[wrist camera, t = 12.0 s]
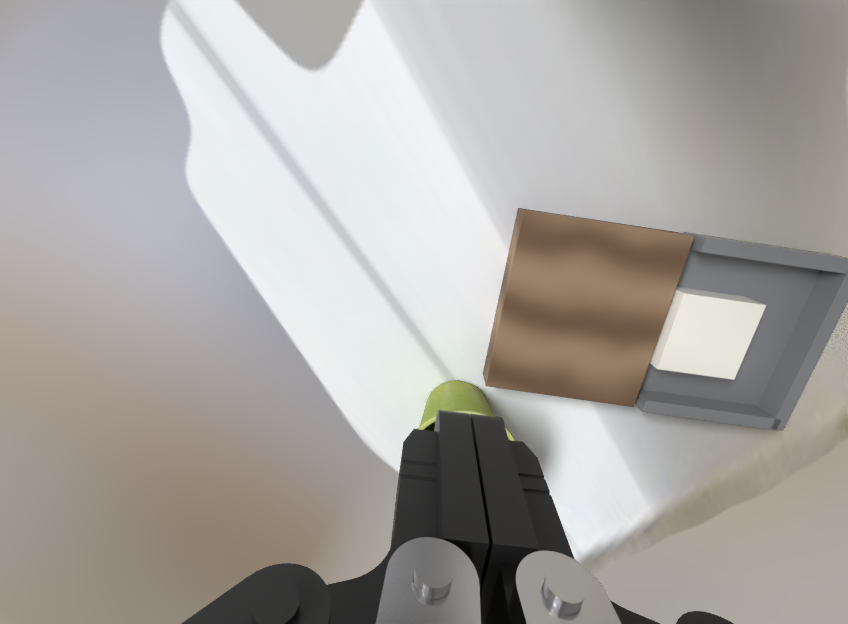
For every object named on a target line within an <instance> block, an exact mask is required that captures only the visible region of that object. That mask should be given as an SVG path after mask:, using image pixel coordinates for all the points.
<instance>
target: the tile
mask: <svg viewBox="0 0 848 624" xmlns="http://www.w3.org/2000/svg"><path fill="white" fill-rule="evenodd" d="M765 307H766V305H765V304H762V303H760V302H757V301H754V300H752V299H749V298H747V297H744V296H737V295H730V294H723V293H716V292H709V291H702V290H695V289H688V288H681V287H676V290H675V292H674V295H673V298H672V301H671V304H670V306H669V309H668V312H667V315H666V318H665V320H664V323H663V326H662V329H661V332H660V334H659V337H658V340H657V343H656V346H655V348H654V351H653V354H652V357H651V360H650V362H649V363H651V364H652V365H653V366H654V367H655V368H656V369H660V370H668V371H675V372H682V373H689V374H696V375H704V376H711V377H718V378H725V379H732V380H734V379H735V377H736V374H737V372H738V370H739V368H740V365H741V363H742V361H743V358H744V356H745V354H746V351H747V349H748V347H749V344H750V342H751V340H752V337H753V335H754V333H755V330H756V328H757V326H758V324H759V321H760V319H761V317H762V314H763V312H764V310H765Z"/></svg>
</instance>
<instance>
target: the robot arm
mask: <svg viewBox="0 0 848 624" xmlns="http://www.w3.org/2000/svg"><path fill="white" fill-rule="evenodd" d="M549 492H550V491H549V489H548V486H547V483H546V480H544V475H543V472H542V469H541V467H540V464H539V461H538V459H537V457H536V456H535V455H534V454H533V453H532V452H531V450H530V449H529V448H528V447H527V446H526V445H525V444H524V443H523V442H519V441H511V440H508V436H507V433H506V429H505V425H504V422H503V419H502V418H501V417H494V416H486V415H478V414H470V415H469V414H468V413H461V412H452V411H444V410H438V412H437V416H436V422H435V428H434V431H427V430H419V429H414V430H413V431H412V432H411V433H410V435H409V436H408V437H407V438H406V440H405V441H404V442H403V450H402V457H401V465H400V472H399V480H398V488H397V495H396V503H395V513H394V521H393V531H392V540H391V548H390V551H389V552H388V554H387V556H386V557H385V559H384V560H383V561H382V562H381V564H379V565H378V566H377V567H376V568H375V569H373V570H372V571H370V572H369V573H367V574H365V575H363V576H360V577H358V578H354V579H351V580H347V581H342V582H338V583H333V584H329V585H326V584H325V583H324V581H323V580H322V579H321V577H320V576H319V575H318V574H316V572H314V571H313V570H311V569H309V568H307V567H305V566H301V565H298V564H277V565H272V566H269V567H266V568H263V569H261V570H259V571H257V572H255V573H253V574H252V575H250V576H248V577H247V578H246V579H244V580H243V581H241V582H240V583H239V584H237V585H236V586H234V587H233V588H231V589H230V590H229V591H227V592H226V593H224V594H223V595H221V596H220V597H219V598H217V599H216V600H215V601H213V602H212V603H210V604H209V605H207V606H206V607H204V608H203V609H202V610H200V611H199V612H197V613H196V614H195V615H193V616H192V617H190V618H189V619H188V620H186V621H185V622H183V623H182V624H660V623H657V622H655V621H652V620H650V619H648V618H645V617H643V616H641V615H638V614H636V613H633V612H631V611H629V610H626V609H625V608H623V607H621V606H619V605H617V604H615V603H614V602H612V601H610V599H609V597H608V595H607V593H606V591H605V590H604V588H603V586H602V585H601V583H600V582H599V581H598V579H597V578H596V577H595V576H594V575H593V574H592V573H591V572H590V571H589V570H588V569H587V568H586V567H585V566H583V565H582V564H581V563H579V562H578V561H576V560H575V559H574V557H573V554H572V551H571V549H570V546H569V543H568V540H567V538H566V535H565V532H564V530H563V527H562V524H561V521H560V519H559V516H558V513H557V510H556V508H555V505H554V502H553V500H552V497H551V495H549ZM676 624H733V623H732V622H730V621H728V620H726V619H724V618H722V617H719V616H717V615H714V614H711V613H707V612H700V611H693V612H688V613H686V614H683V615H682V616H681V617H680V618H679V619H678V621H677V623H676Z"/></svg>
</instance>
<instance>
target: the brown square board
mask: <svg viewBox="0 0 848 624" xmlns="http://www.w3.org/2000/svg"><path fill="white" fill-rule="evenodd" d="M693 239H694V236H691V235H687V234H682V233H678V232H672V231H665V230H659V229H652V228H646V227H639V226H633V225H626V224H619V223H613V222H606V221H600V220H593V219H587V218H580V217H573V216H567V215H560V214H554V213H547V212H540V211H534V210H527V209H521V208H518V211H517V216H516V221H515V225H514V230H513V235H512V240H511V244H510V249H509V254H508V258H507V263H506V268H505V272H504V277H503V282H502V286H501V291H500V296H499V300H498V305H497V310H496V314H495V319H494V324H493V328H492V333H491V338H490V343H489V347H488V352H487V357H486V361H485V366H484V371H483V376H484V380H485V384H486V386H489V387H496V388H503V389H510V390H517V391H524V392H531V393H538V394H546V395H553V396H560V397H567V398H574V399H581V400H588V401H595V402H602V403H609V404H616V405H623V406H631V407H634V404H635V402H636V399H637V396H638V393H639V390H640V388H641V385H642V382H643V379H644V376H645V374H646V371H647V368H648V365H649V362H650V360H651V357H652V354H653V351H654V348H655V346H656V343H657V340H658V337H659V334H660V332H661V329H662V326H663V323H664V320H665V318H666V315H667V312H668V309H669V306H670V304H671V301H672V298H673V295H674V292H675V290H676V287H677V284H678V281H679V278H680V276H681V273H682V270H683V267H684V264H685V262H686V259H687V256H688V253H689V250H690V248H691V245H692V242H693Z"/></svg>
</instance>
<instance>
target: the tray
mask: <svg viewBox="0 0 848 624" xmlns="http://www.w3.org/2000/svg"><path fill="white" fill-rule="evenodd" d="M682 234H687V235H691V236H694V239H693V242H692V245H691V248H690V250H689V253H688V256H687V259H686V262H685V264H684V267H683V270H682V273H681V276H680V278H679V281H678V284H677V287H681V288H688V289H695V290H702V291H709V292H716V293H723V294H730V295H737V296H744V297H747V298H749V299H752V300H754V301H757V302H760V303H762V304H765V305H766V307H765V310H764V312H763V314H762V317H761V319H760V321H759V324H758V326H757V328H756V330H755V333H754V335H753V337H752V340H751V342H750V344H749V347H748V349H747V351H746V354H745V356H744V358H743V361H742V363H741V365H740V368H739V370H738V372H737V374H736V377H735V379H734V380H732V379H725V378H718V377H711V376H704V375H696V374H689V373H682V372H675V371H668V370H660V369H656V368H655V367H654V366H653V365H652V364H651V363H649V365H648V368H647V371H646V374H645V376H644V379H643V382H642V385H641V388H640V390H639V393H638V396H637V399H636V402H635V404H636V405H637V406H638V408H639V409H640V410H641V411H642V412H648V413H655V414H662V415H669V416H676V417H683V418H690V419H698V420H705V421H712V422H719V423H726V424H733V425H740V426H747V427H754V428H761V429H769V430H784V428H785V426H786V424H787V422H788V420H789V418H790V416H791V414H792V412H793V410H794V408H795V406H796V404H797V402H798V400H799V398H800V396H801V394H802V392H803V390H804V388H805V386H806V384H807V382H808V380H809V378H810V376H811V374H812V372H813V370H814V368H815V366H816V364H817V362H818V360H819V358H820V356H821V354H822V352H823V350H824V348H825V346H826V344H827V342H828V340H829V338H830V336H831V334H832V332H833V330H834V328H835V326H836V324H837V323H838V321H839V319H840V317H841V315H842V313H843V311H844V309H845V307H846V305H847V303H848V258H845V257H840V256H835V255H830V254H825V253H818V252H812V251H805V250H798V249H792V248H785V247H779V246H772V245H766V244H759V243H752V242H746V241H739V240H733V239H726V238H719V237H713V236H706V235H700V234H693V233H687V232H684V233H682Z"/></svg>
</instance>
